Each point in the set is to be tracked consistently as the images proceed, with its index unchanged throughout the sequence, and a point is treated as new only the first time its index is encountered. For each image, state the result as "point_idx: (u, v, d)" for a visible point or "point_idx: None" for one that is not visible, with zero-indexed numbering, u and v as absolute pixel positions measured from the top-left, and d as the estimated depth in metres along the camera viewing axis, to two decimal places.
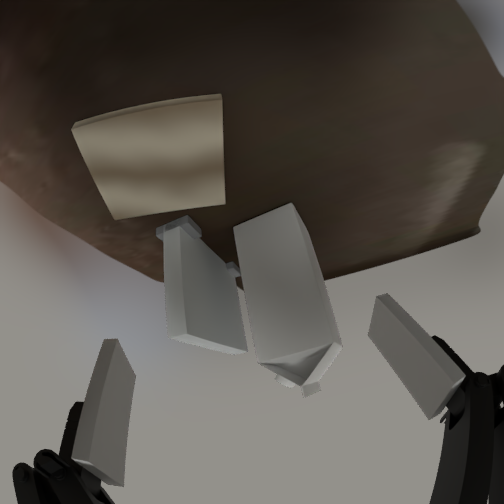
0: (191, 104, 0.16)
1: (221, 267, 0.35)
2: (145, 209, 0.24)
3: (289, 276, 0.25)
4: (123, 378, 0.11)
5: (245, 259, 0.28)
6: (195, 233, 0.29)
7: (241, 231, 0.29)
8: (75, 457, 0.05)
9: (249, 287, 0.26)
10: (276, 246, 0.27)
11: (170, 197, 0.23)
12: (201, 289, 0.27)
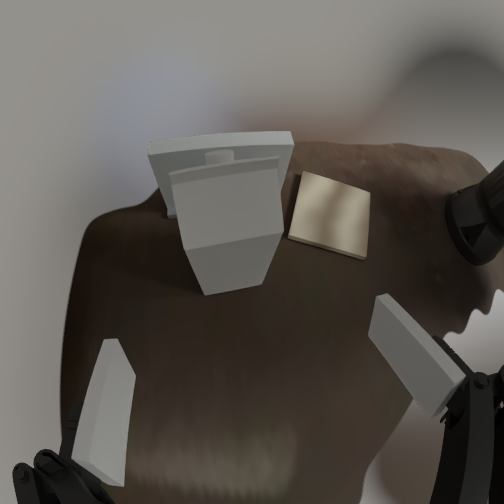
0: (366, 243, 0.35)
1: None
2: (304, 190, 0.38)
3: None
4: (123, 378, 0.11)
5: None
6: None
7: None
8: (75, 457, 0.05)
9: None
10: None
11: (309, 207, 0.37)
12: None
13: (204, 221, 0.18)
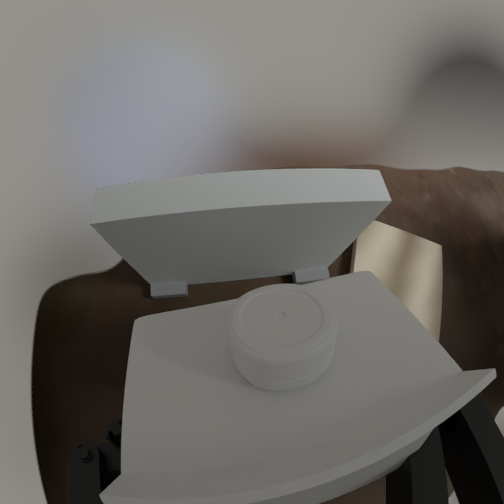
0: (439, 324, 0.22)
1: (208, 278, 0.21)
2: (363, 249, 0.24)
3: None
4: None
5: None
6: (306, 277, 0.22)
7: None
8: None
9: None
10: None
11: None
12: (304, 245, 0.17)
13: None
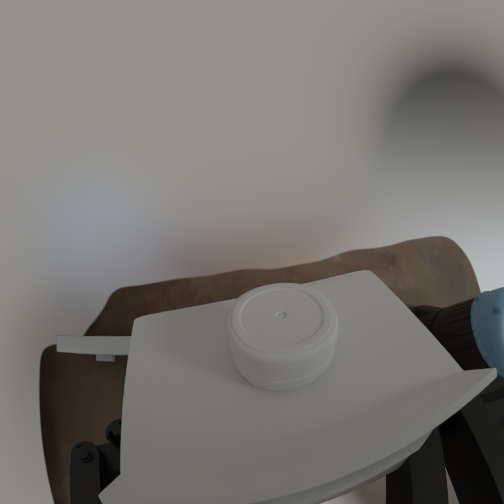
0: None
1: None
2: None
3: None
4: None
5: None
6: None
7: None
8: None
9: None
10: None
11: None
12: None
13: None
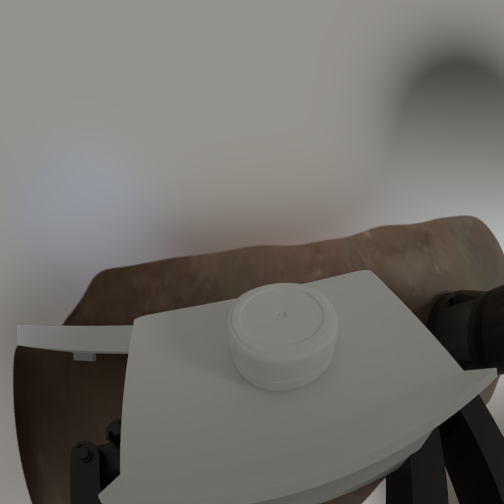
0: None
1: (103, 353, 0.27)
2: None
3: None
4: None
5: None
6: None
7: None
8: None
9: None
10: None
11: None
12: None
13: None
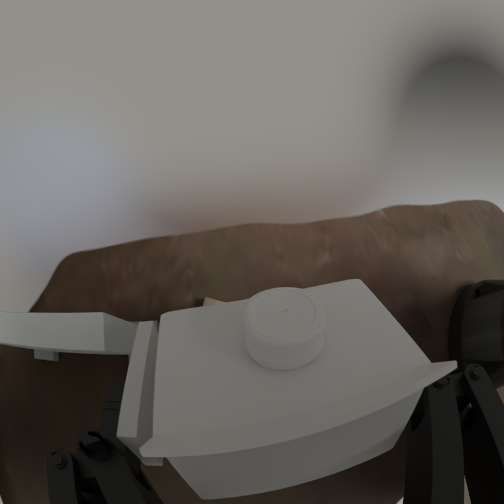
0: None
1: None
2: None
3: None
4: None
5: None
6: None
7: None
8: (121, 435, 0.07)
9: None
10: None
11: None
12: (93, 352, 0.16)
13: (246, 479, 0.06)
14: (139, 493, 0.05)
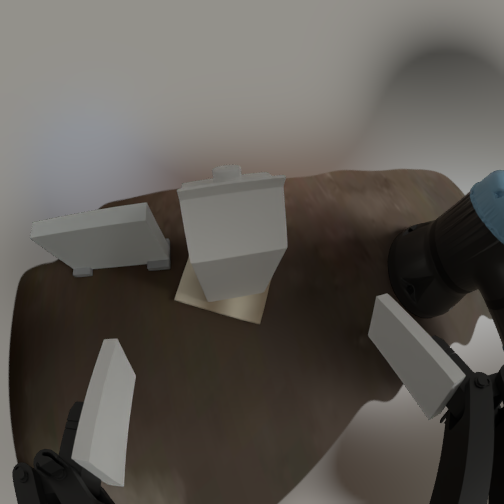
0: (262, 307, 0.33)
1: (99, 264, 0.33)
2: None
3: None
4: (123, 378, 0.11)
5: None
6: (153, 265, 0.34)
7: None
8: (75, 457, 0.05)
9: None
10: None
11: None
12: (129, 245, 0.29)
13: (211, 236, 0.19)
14: None
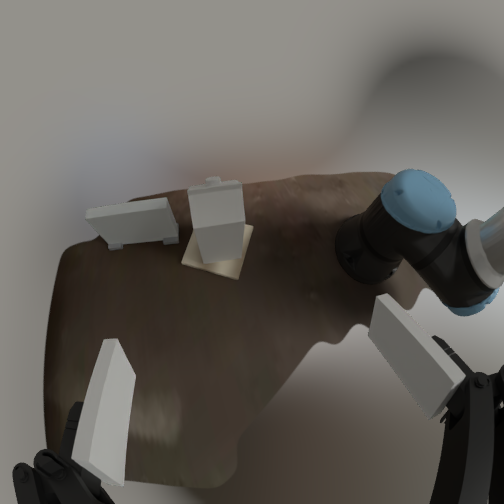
0: (240, 268, 0.50)
1: (129, 240, 0.50)
2: None
3: None
4: (123, 378, 0.11)
5: None
6: (167, 240, 0.51)
7: None
8: (75, 457, 0.05)
9: None
10: None
11: None
12: (153, 225, 0.46)
13: (204, 214, 0.36)
14: None
